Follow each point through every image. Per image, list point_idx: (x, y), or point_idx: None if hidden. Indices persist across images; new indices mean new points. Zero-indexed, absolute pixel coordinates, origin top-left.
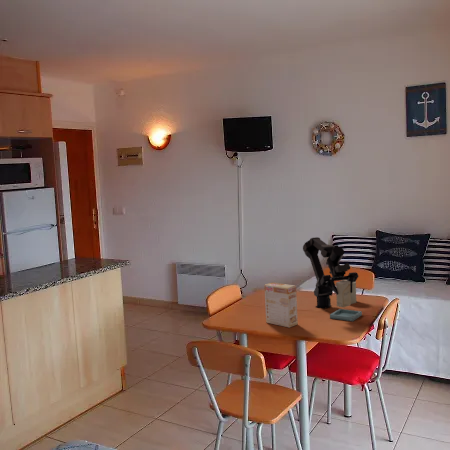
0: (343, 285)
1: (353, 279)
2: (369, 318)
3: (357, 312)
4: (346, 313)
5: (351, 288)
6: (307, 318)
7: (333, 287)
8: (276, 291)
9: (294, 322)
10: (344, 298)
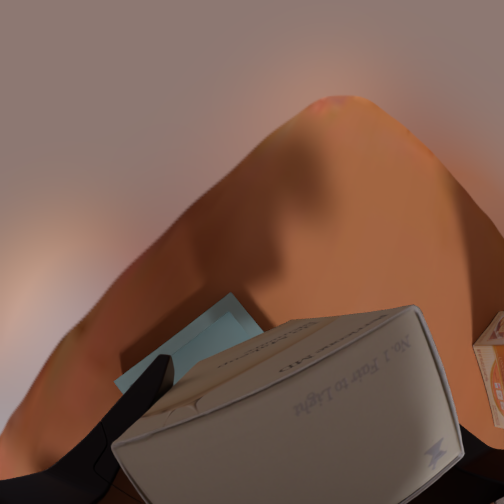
0: (377, 312)
1: (14, 492)
2: (117, 303)
3: None
4: None
5: (145, 389)
6: None
7: None
8: None
9: (493, 329)
10: (292, 327)
